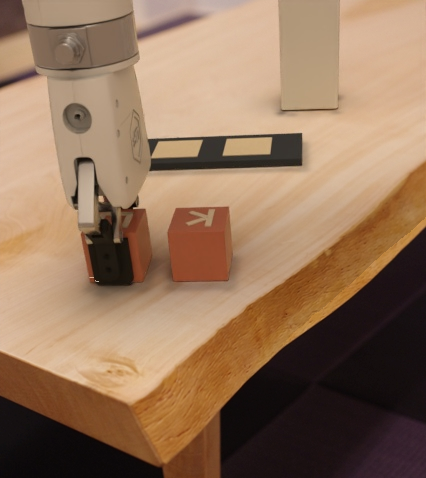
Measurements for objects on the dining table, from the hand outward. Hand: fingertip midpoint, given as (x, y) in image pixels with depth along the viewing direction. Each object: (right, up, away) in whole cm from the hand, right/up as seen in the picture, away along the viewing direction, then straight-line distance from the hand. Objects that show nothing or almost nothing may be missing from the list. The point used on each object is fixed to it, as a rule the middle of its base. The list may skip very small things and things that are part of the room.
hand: (121, 265), depth 63 cm
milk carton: (+21, +24, +35) cm, 47 cm away
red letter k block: (+7, 0, -1) cm, 7 cm away
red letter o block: (0, 0, 0) cm, 0 cm away
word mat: (+8, +14, +21) cm, 26 cm away
